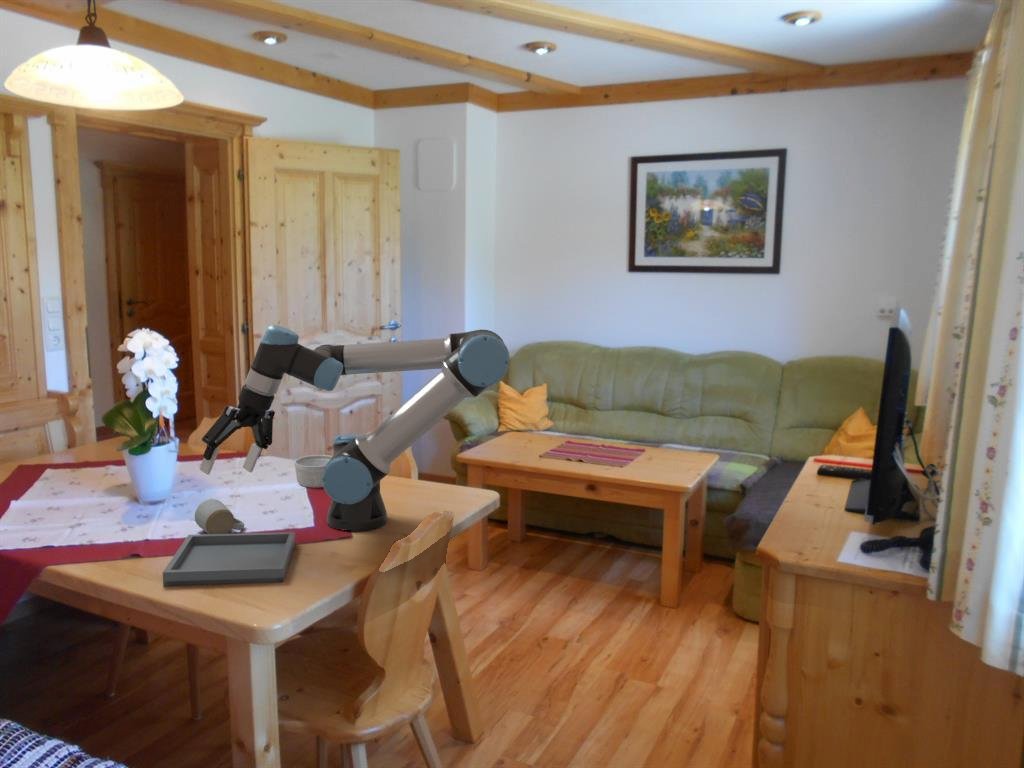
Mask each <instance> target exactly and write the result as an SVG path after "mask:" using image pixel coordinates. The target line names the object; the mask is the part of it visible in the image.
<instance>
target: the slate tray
mask: <svg viewBox="0 0 1024 768" xmlns="http://www.w3.org/2000/svg"><path fill="white" fill-rule="evenodd" d="M295 546H296V532H295V531H287V532H285V531H283V532H282V531H281V532H253V533H252V532H251V533H249V532H248V533H247V532H246V533H245V532H244V533H243V532H242V533H227V534H208V533H205V534H188V535H187V536H186V537H185V539H184V540H183V542H182V543H181V545H180V547H178V549H177V550H176V552H175V554H174V555H173V557H172V558H171V559H170V561H169V563H168V564H167V566H165V568H164V570H163V571H162V587H177V586H179V587H181V586H205V585H206V586H208V585H238V584H262V583H264V584H268V583H284V582H285V579H286V576H287V574H288V573H287V572H288V569H289V565H290V563H291V559H292V556H293V552H294V549H295Z"/></svg>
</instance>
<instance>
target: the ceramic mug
mask: <svg viewBox="0 0 1024 768" xmlns="http://www.w3.org/2000/svg"><path fill="white" fill-rule="evenodd" d="M194 521H195V523H196V525H197V526H198V527H199V528H201V529H202V530H203V531H204V532H206V533H205V534H230V532H231V531H232V530H236V531H242V530H243V529H244V526H245V523H244V521H242V520H240V519H238V518H236V517H234V515H233V513H232V510H230V509H229V508H228V507H227V506H226V505H225V504H224V503H223V502H222V501H220V500H218V499H215V498H209V499H206V500H203V501H202V502H200V504H199V505H198V506H197V508H196V510H195V512H194Z"/></svg>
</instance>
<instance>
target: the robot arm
mask: <svg viewBox="0 0 1024 768" xmlns="http://www.w3.org/2000/svg"><path fill="white" fill-rule="evenodd" d="M299 337H300V335H299V334H298V333H296V332H295V331H293V330H291V329H289V328H287V327H284V326H282V325H277V324H272V325H269V326H268V327H267V328H266V331H265V332H264V334H263V337H262V339H261V340H260V342H259V345H258V347H257V351H256V353H255V356H254V358H253V361H252V363H251V366H250V368H249V371H248V373H247V376H246V378H245V380H244V385H242V387H241V390H240V392H239V395H238V402H239V403H238V405H237V407H233V406H232V405H231V404H226V407H225V408H224V410H223V412H222V413H221V415H220V416H219V417H218V419H216V421H215V422H214V424H212V425H211V427H210V428H209V429H208V431H206V433H205V434H204V435H203V437H202V438H201V441H202V442H203V443H205V444H206V446H205V447H206V448H205V450H204V452H203V455H202V456H203V457H202V461H201V464H200V466H199V470H200V471H201V472H203V473H204V474H206V475H210V474H211V472H212V470H213V467H214V463H215V461H216V460H217V457H218V455H219V451H220V448H219V447H220V446H221V445H222V444H223V443H224V442H225V441H226V440H227V439H229V437H230V436H231V435H233V433H235V432H236V431H237V430H241V429H242V428H247V427H249V428H251V430H252V435H253V437H254V441H255V443H251V446H250V448H249V451H248V452H247V455H246V457H245V460H244V463H243V465H242V468H243V469H244V470H246V471H247V472H248V473H253V471H254V469H255V466H256V464H257V462H258V459H259V458H260V456H261V454H262V452H263V449H264V450H267V449H268V448H269V446H271V445H272V444H273V431H274V430H273V427H274V426H273V425H274V423H273V422H274V421H273V420H274V417H275V414H276V412H275V411H274V410H273V409H271V408H272V407H271V406H272V404H273V402H274V399H275V395H276V394H277V393H278V390H279V389H280V385H281V383H282V380H283V377H284V375H285V374H286V375H288V376H291V377H293V378H294V379H298V380H300V381H302V382H305V383H307V384H309V385H311V386H314V387H315V388H317V389H320V390H321V389H322V390H325V391H326V392H332V391H333V390H335V388H336V386H337V384H338V382H339V381H340V379H341V376H347V375H361V374H362V375H364V374H379V373H392V372H393V373H395V372H407V371H408V372H409V371H426V370H440V369H441V371H439V372H438V373H437V374H436V375H435V376H434V377H433V378H431V379H430V380H429V381H428V382H427V383H426V384H425V385H424V386H422V387H421V388H420V389H419V390H417V392H416V393H414V394H413V395H412V396H411V397H409V398H408V399H407V400H406V401H405V402H403V404H402V405H400V406H399V407H398V408H397V409H396V410H395V411H394V412H392V413H391V414H390V415H389V416H388V417H387V418H386V419H385V420H383V422H381V423H380V424H379V425H378V426H377V427H375V428H374V429H373V430H372V431H371V432H370V433H343V434H338V435H336V436H334V439H333V444H332V447H333V455H331V456H332V458H331V459H330V461H329V462H328V463H327V464H326V466H325V468H324V471H323V476H322V483H323V487H322V488H323V489H324V492H325V493H326V494H327V495H328V496H329V498H330V499H331V502H330V505H329V507H328V511H327V515H326V516H327V517H326V520H327V521H326V522H327V525H328V524H329V525H330V526H331V527H330V526H329V525H328V526H329V527H330V528H332V527H334V528H333V529H335V528H338V529H344V530H345V529H346V530H351V531H350V532H361V531H370V530H375V529H377V528H380V527H382V526H384V525H385V524H386V523H387V521H388V514H387V509H386V507H385V503H384V500H383V497H382V494H381V481H382V480H383V479H384V478H385V477H386V476H387V475H388V474H390V472H391V465H392V463H393V462H394V461H395V460H396V459H397V458H399V456H401V455H402V454H403V453H404V452H405V451H406V450H408V449H409V448H410V447H411V446H412V445H413V444H414V443H416V442H417V441H418V440H419V439H420V438H421V437H423V436H424V435H425V434H426V433H427V432H428V431H429V430H430V429H432V428H433V427H434V426H435V425H436V424H437V423H438V422H440V421H441V420H442V419H443V418H444V417H446V416H447V415H448V414H449V413H450V412H451V411H452V410H453V409H454V408H456V407H457V406H459V404H461V402H463V401H464V400H465V399H467V398H470V399H471V398H473V399H476V398H477V397H478V396H479V395H480V394H482V393H483V392H484V391H485V390H486V389H487V388H488V387H491V386H494V385H495V384H498V383H499V382H501V380H502V379H503V378H504V377H505V375H506V374H507V372H508V370H509V366H510V352H509V350H508V347H507V346H506V344H505V342H504V340H503V338H501V336H500V335H499V334H497V333H496V332H494V331H493V330H488V329H475V330H471V331H464V332H457V333H449V334H447V336H446V337H444V338H443V337H442V338H430V339H412V340H399V341H397V340H396V341H385V342H383V341H381V342H368V343H367V342H366V343H355V344H354V343H353V344H350V343H349V344H342V345H341V344H339V345H332V344H321V345H319V346H317V347H316V348H314V349H311V348H309V347H306V346H303V345H301V343H299V339H300V338H299ZM338 529H337V530H338ZM344 530H343V531H344Z"/></svg>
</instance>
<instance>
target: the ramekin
mask: <svg viewBox="0 0 1024 768" xmlns="http://www.w3.org/2000/svg"><path fill="white" fill-rule="evenodd" d="M332 456H333V455H328V454H312V455H305V456H301V457H298V458H297V459H295V460H294V464H293V465H294V466H293V467H294V468H295V476H296V481H297V483H298V484H299V486H302V487H305V488H314V489H316V488H319V489H320V488H324V487H323V483H322V476H323V471H324V468H325V466H326V464H327V463H328V462H329V461H330V459H331V458H332Z"/></svg>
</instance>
